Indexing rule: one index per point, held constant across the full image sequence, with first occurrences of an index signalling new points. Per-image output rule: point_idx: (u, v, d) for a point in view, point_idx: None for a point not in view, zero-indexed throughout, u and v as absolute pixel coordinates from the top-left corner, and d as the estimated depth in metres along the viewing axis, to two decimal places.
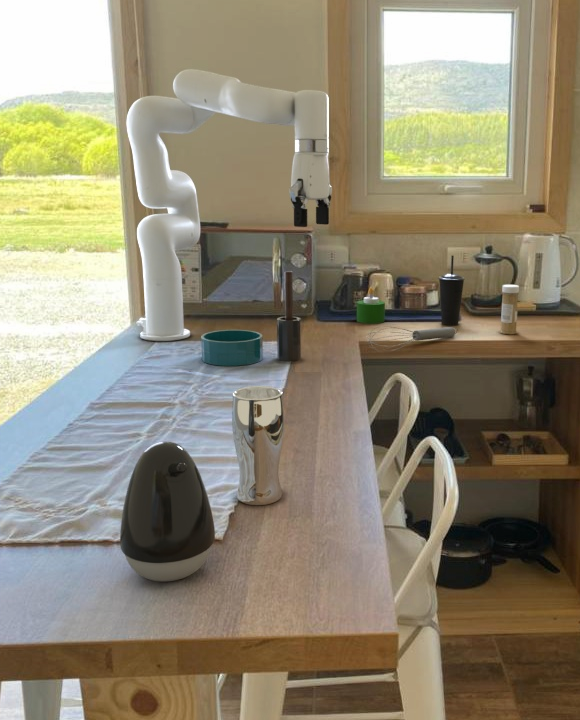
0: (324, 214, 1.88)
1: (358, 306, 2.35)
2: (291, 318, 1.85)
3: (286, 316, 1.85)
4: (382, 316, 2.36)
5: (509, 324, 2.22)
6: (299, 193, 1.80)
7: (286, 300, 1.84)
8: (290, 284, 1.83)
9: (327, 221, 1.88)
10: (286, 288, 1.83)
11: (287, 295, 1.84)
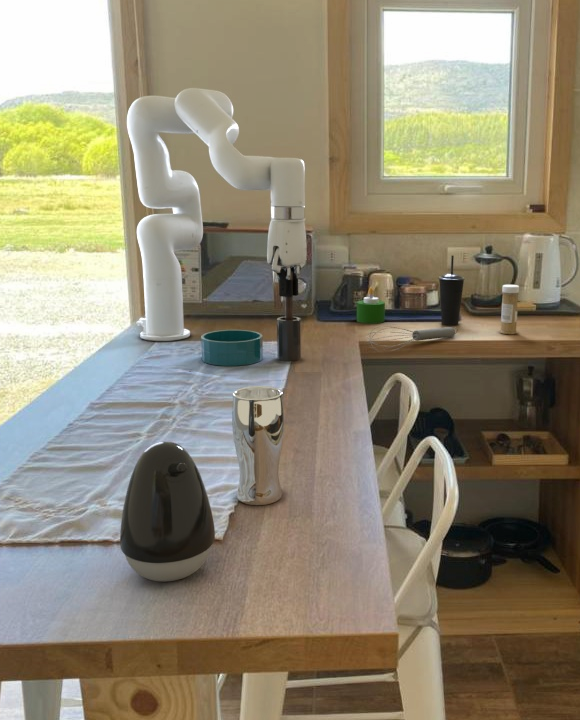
0: (293, 285, 1.84)
1: (358, 306, 2.35)
2: (291, 318, 1.85)
3: (286, 316, 1.85)
4: (382, 316, 2.36)
5: (509, 324, 2.22)
6: None
7: (286, 300, 1.84)
8: None
9: (296, 292, 1.85)
10: None
11: None
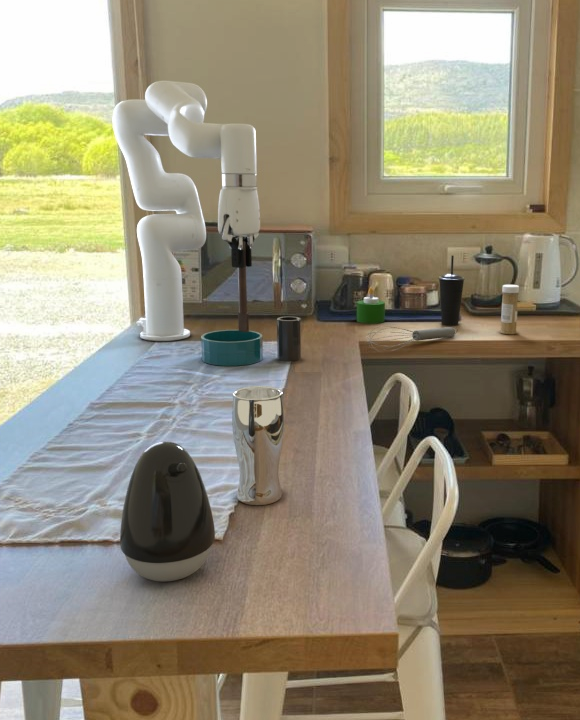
0: (246, 256, 1.80)
1: (358, 306, 2.35)
2: (245, 290, 1.81)
3: (239, 287, 1.80)
4: (382, 316, 2.36)
5: (509, 324, 2.22)
6: (231, 231, 1.77)
7: (239, 271, 1.79)
8: None
9: (250, 263, 1.80)
10: None
11: None
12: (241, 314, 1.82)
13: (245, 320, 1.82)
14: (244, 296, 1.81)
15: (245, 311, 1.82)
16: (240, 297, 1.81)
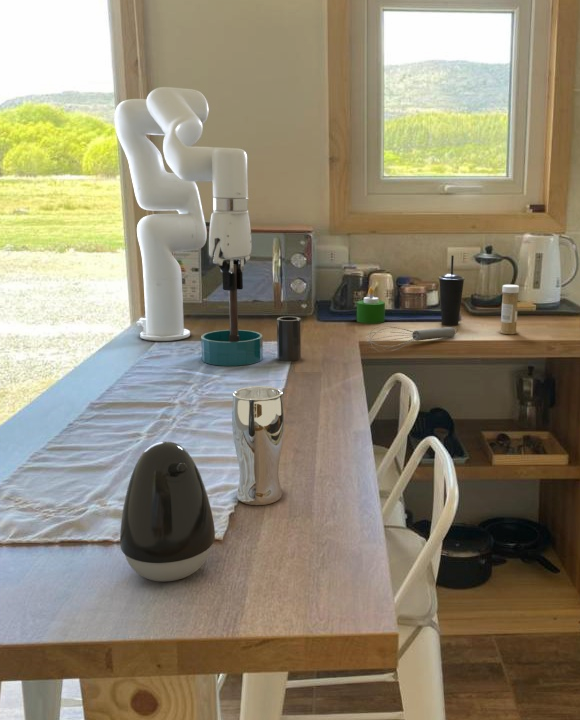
0: (237, 279, 1.80)
1: (358, 306, 2.35)
2: (235, 312, 1.81)
3: (230, 310, 1.81)
4: (382, 316, 2.36)
5: (509, 324, 2.22)
6: (222, 255, 1.77)
7: (230, 294, 1.80)
8: None
9: (241, 286, 1.81)
10: None
11: None
12: (232, 336, 1.83)
13: None
14: (235, 319, 1.81)
15: (236, 333, 1.82)
16: (231, 320, 1.81)
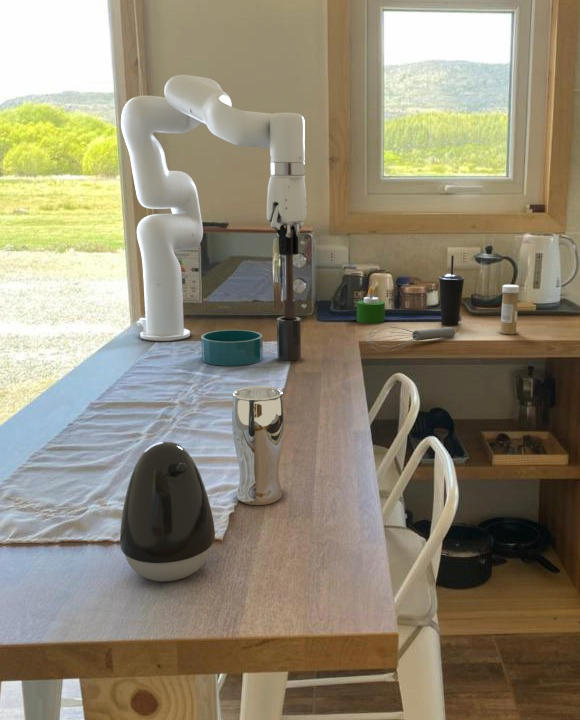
0: (293, 244, 1.82)
1: (358, 306, 2.35)
2: (291, 277, 1.83)
3: (286, 275, 1.83)
4: (382, 316, 2.36)
5: (509, 324, 2.22)
6: None
7: (286, 259, 1.82)
8: None
9: (296, 251, 1.82)
10: None
11: None
12: (287, 301, 1.85)
13: (291, 307, 1.84)
14: (291, 283, 1.83)
15: (291, 298, 1.84)
16: (287, 284, 1.83)
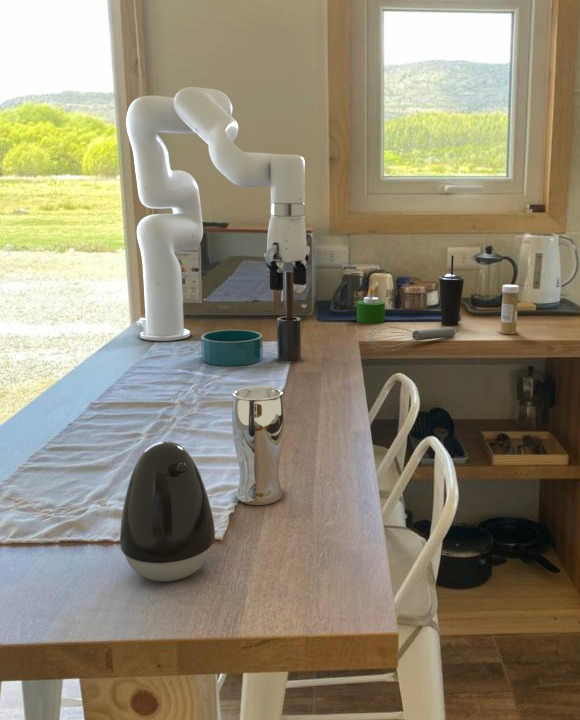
0: (301, 275, 1.87)
1: (358, 306, 2.35)
2: (292, 318, 1.85)
3: (287, 316, 1.85)
4: (382, 316, 2.36)
5: (509, 324, 2.22)
6: (275, 256, 1.80)
7: (287, 300, 1.84)
8: (290, 285, 1.83)
9: (304, 282, 1.87)
10: (287, 288, 1.83)
11: (288, 295, 1.84)
12: None
13: None
14: None
15: None
16: None
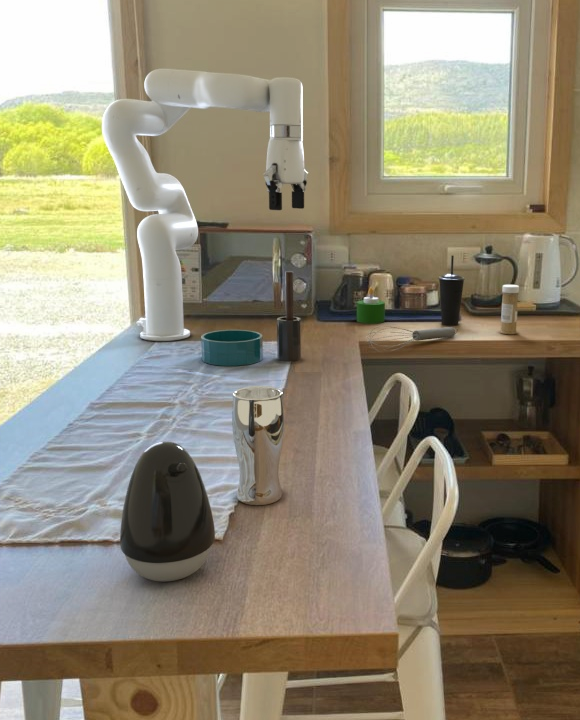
0: (299, 198, 1.94)
1: (358, 306, 2.35)
2: (292, 318, 1.85)
3: (287, 316, 1.85)
4: (382, 316, 2.36)
5: (509, 324, 2.22)
6: (274, 177, 1.86)
7: (287, 300, 1.84)
8: (290, 285, 1.83)
9: (302, 205, 1.94)
10: (287, 288, 1.83)
11: (288, 295, 1.84)
12: None
13: None
14: None
15: None
16: None
